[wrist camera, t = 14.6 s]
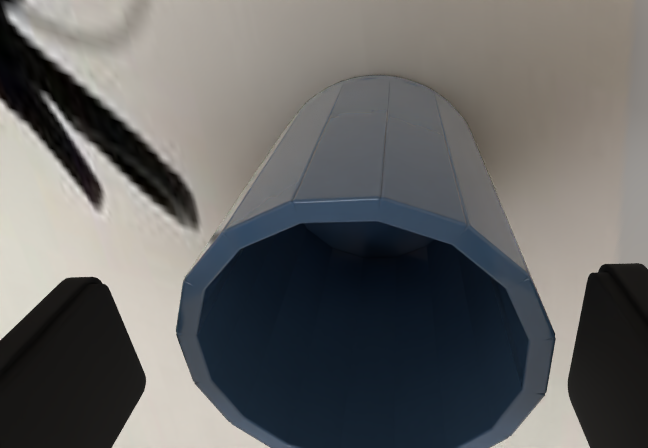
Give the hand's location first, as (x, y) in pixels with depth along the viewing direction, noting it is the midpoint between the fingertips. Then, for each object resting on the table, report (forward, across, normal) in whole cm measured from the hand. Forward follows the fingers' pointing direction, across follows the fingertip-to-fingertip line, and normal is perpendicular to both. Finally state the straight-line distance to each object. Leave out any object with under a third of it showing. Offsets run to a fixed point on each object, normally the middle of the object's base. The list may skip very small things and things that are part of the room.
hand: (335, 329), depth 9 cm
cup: (+7, -1, 0) cm, 7 cm away
